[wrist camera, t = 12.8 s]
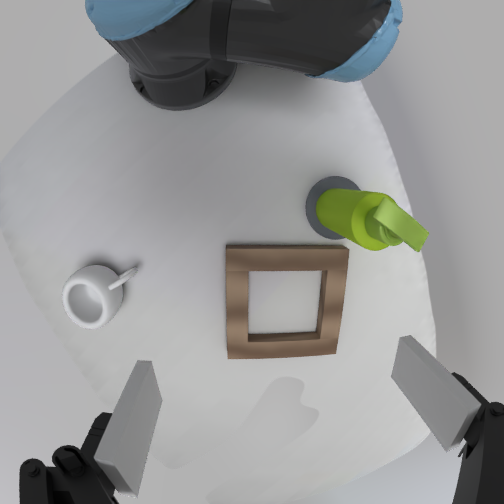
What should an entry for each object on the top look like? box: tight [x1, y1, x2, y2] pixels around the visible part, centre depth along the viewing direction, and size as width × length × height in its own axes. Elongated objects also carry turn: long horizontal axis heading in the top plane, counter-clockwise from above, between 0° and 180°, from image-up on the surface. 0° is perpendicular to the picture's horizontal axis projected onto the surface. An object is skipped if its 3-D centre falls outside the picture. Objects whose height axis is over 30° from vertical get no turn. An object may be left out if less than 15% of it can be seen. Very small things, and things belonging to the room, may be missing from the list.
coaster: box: [306, 177, 361, 240], centre depth 40 cm, size 9×9×1 cm
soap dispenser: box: [316, 188, 429, 252], centre depth 30 cm, size 6×7×20 cm
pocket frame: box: [226, 245, 349, 359], centre depth 42 cm, size 17×17×2 cm
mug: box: [62, 265, 138, 329], centre depth 37 cm, size 12×8×8 cm
